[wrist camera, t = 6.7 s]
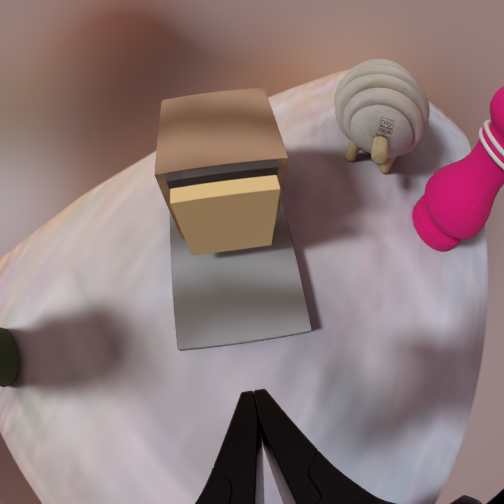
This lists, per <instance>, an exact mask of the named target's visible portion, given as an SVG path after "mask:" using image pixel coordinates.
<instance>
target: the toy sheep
mask: <svg viewBox="0 0 504 504" xmlns="http://www.w3.org/2000/svg"><path fill="white" fill-rule="evenodd" d="M334 99H335V108H336V119H337V122H338V125H339V127H340V129H341V130H342V132H343V133H344V134H345V135H346V136H347V138H348V139H349V140H350V143H349V145H348V148H347V150H346V153H345V158H346V159H347V160H348V161H354V160H355V159H356V157H357V154H358V152H359V150H360V148H361V149H363V150H364V151H366V152H368V153H370V154H371V158H372V160H373V161H374V162H375V163H377V164H380V165H379V170H380V171H381V172H382V173H388V172H389V170H390V168H391V166H392V165H393V163H394V161H395V159H396V157H397V156H401V155H404V154H406V153H408V152H410V151H411V150H413V149H414V148H415V147H416V146H417V145H418V144H419V142H420V141H421V140H422V138H423V137H424V135H425V133H426V131H427V127H428V119H429V103H428V99H427V97H426V94H425V92H424V90H423V89H422V87H421V86H420V84H419V82H418V81H417V80H416V78H415V77H414V76H413V75H412V74H411V73H409V72H408V71H407V70H406V69H405V68H403V67H402V66H401V65H399V64H397V63H395V62H393V61H390V60H386V59H371V60H367V61H364V62H362V63H361V64H358V65H357V66H355V67H353V68H352V69H351V70H350V71H349V72H348V73H347V75H346V76H345V77H344V78H343V79H342V80H341V81H340V83H339V85H338V87H337V89H336V92H335V98H334Z"/></svg>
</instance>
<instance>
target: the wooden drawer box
mask: <svg viewBox="0 0 504 504" xmlns="http://www.w3.org/2000/svg"><path fill="white" fill-rule="evenodd" d="M287 162H288V156H287V153H286V150H285V146H284V143H283V140H282V137H281V135H280V132H279V129H278V126H277V123H276V120H275V117H274V114H273V111H272V109H271V106H270V103H269V100H268V98H267V95H266V92H265V90H264V88H255V89H241V90H230V91H220V92H212V93H204V94H198V95H190V96H184V97H178V98H173V99H168V100H163V101H162V106H161V113H160V122H159V131H158V141H157V152H156V164H155V177H156V179H157V182H158V184H159V187H160V189H161V192H162V194H163V196H164V199H165V201H166V204H167V206H168V208H169V211H170V244H171V269H172V287H173V302H174V315H175V327H176V337H177V347H178V350H180V351H183V350H193V349H203V348H212V347H220V346H228V345H235V344H243V343H250V342H256V341H263V340H269V339H275V338H281V337H287V336H292V335H298V334H303V333H308V332H310V331H311V325H310V320H309V315H308V310H307V306H306V301H305V296H304V292H303V287H302V283H301V278H300V274H299V269H298V265H297V261H296V256H295V252H294V248H293V243H292V239H291V235H290V231H289V227H288V223H287V219H286V215H285V211H284V207H283V203H282V199H281V198H282V192H283V186H284V180H285V174H286V168H287ZM272 175H277V178H278V182H279V186H280V194H279V200H278V207H277V213H276V219H275V225H274V232H273V238H272V244H271V245H269V246H261V247H254V248H247V249H239V250H232V251H224V252H217V253H210V254H202V255H195V256H192V254H191V252H190V250H189V247H188V245H187V243H186V240H185V238H184V236H183V233H182V231H181V229H180V226H179V224H178V221H177V219H176V217H175V214H174V212H173V209H172V207H171V204H170V189H173V188H179V187H185V186H192V185H198V184H205V183H212V182H220V181H228V180H236V179H244V178H253V177H262V176H272Z"/></svg>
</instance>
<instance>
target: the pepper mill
mask: <svg viewBox="0 0 504 504" xmlns="http://www.w3.org/2000/svg"><path fill="white" fill-rule="evenodd" d="M490 114H491V120H486V121H485V122H484V126H483V127H482V128H480V130H479V137H480V139H479V141H478V143H477V144H476V146H475V148H474V149H473V150H472V151H471V153H470V154H469V155H467V156H466V157H465V158H463V159H462V160H459V161H457V162H454V163H452V164H449V165H447V166H445V167H443V168H441V169H439V170H438V171H437V172H435V174H434V175H433V176H432V177H431V178H430V179H429V180H428V182H427V184H426V188H425V194H424V195H423V196H422V197H421V198H420V200H419V201H418V202H417V203H416V205H415V206H414V209H413V214H412V218H413V223H414V226H415V229H416V231H417V233H418V234H419V236H420V237H421V239H422V240H423V241H424V242H425V243H426V244H427V245H429V246H430V247H432V248H433V249H435V250H438V251H448V250H450V249H452V248H453V247H454V246H455V245H457V244H458V243H459V242H460V241H461V240H462V239H469V238H471V237H473V236H475V235H476V234H477V233H478V232H479V231H480V230H481V229H482V228H483V226H484V225H485V223H486V221H487V219H488V217H489V214H490V211H491V208H492V205H493V202H494V199H495V197H496V195H497V193H498V191H499V189H500V188H501V187H502V185H503V184H504V87H502V88H500V89H499V90H498V91H497V92H496V93H495V95H494V96H493V98H492V100H491V102H490Z"/></svg>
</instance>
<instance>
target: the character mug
mask: <svg viewBox="0 0 504 504" xmlns="http://www.w3.org/2000/svg"><path fill="white" fill-rule="evenodd" d="M17 369H18V357H17V351H16V346H15V343H14V341H13V338H12V335H11V334H10V333H9V332H8V330H7V329H4V328H0V386H1V387H6V386H8V385H11V384H12V383H13V381H14V379H15V377H16V376H17Z"/></svg>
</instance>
